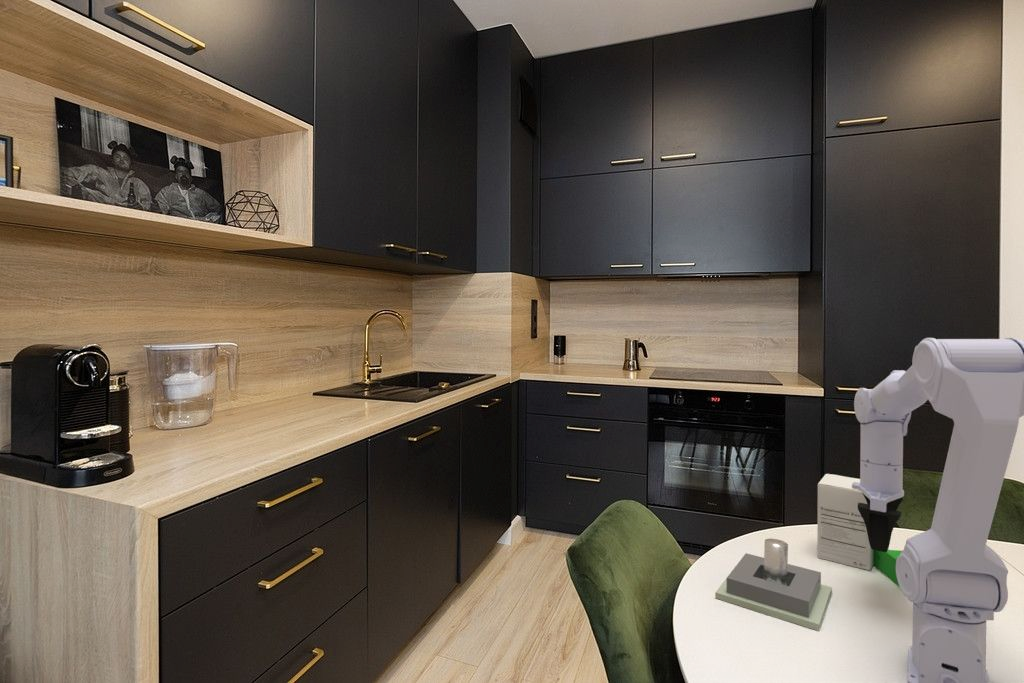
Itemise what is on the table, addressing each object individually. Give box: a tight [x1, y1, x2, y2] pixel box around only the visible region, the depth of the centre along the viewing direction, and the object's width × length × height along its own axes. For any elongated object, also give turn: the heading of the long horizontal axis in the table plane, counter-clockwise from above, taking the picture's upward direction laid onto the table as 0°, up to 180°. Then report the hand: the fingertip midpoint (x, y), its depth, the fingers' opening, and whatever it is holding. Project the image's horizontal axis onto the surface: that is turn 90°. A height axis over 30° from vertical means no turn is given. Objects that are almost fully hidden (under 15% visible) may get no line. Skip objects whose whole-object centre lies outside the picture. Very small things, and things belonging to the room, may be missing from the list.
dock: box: [714, 552, 833, 632], centre depth 85 cm, size 14×15×4 cm
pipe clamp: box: [873, 548, 903, 588], centre depth 90 cm, size 11×4×5 cm, turn 171°
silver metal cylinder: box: [763, 538, 789, 586], centre depth 85 cm, size 4×4×8 cm
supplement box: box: [817, 473, 874, 571], centre depth 100 cm, size 9×9×15 cm
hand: (880, 542), depth 84 cm, fingers open, 7 cm apart
